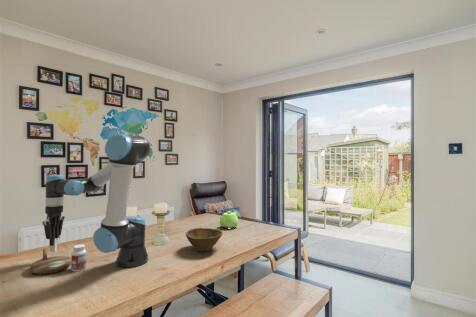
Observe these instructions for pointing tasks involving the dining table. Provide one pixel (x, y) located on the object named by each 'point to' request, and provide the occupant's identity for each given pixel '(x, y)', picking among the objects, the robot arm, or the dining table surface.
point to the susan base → (52, 272)
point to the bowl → (203, 238)
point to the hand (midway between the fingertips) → (53, 251)
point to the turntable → (50, 264)
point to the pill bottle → (78, 258)
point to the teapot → (229, 219)
